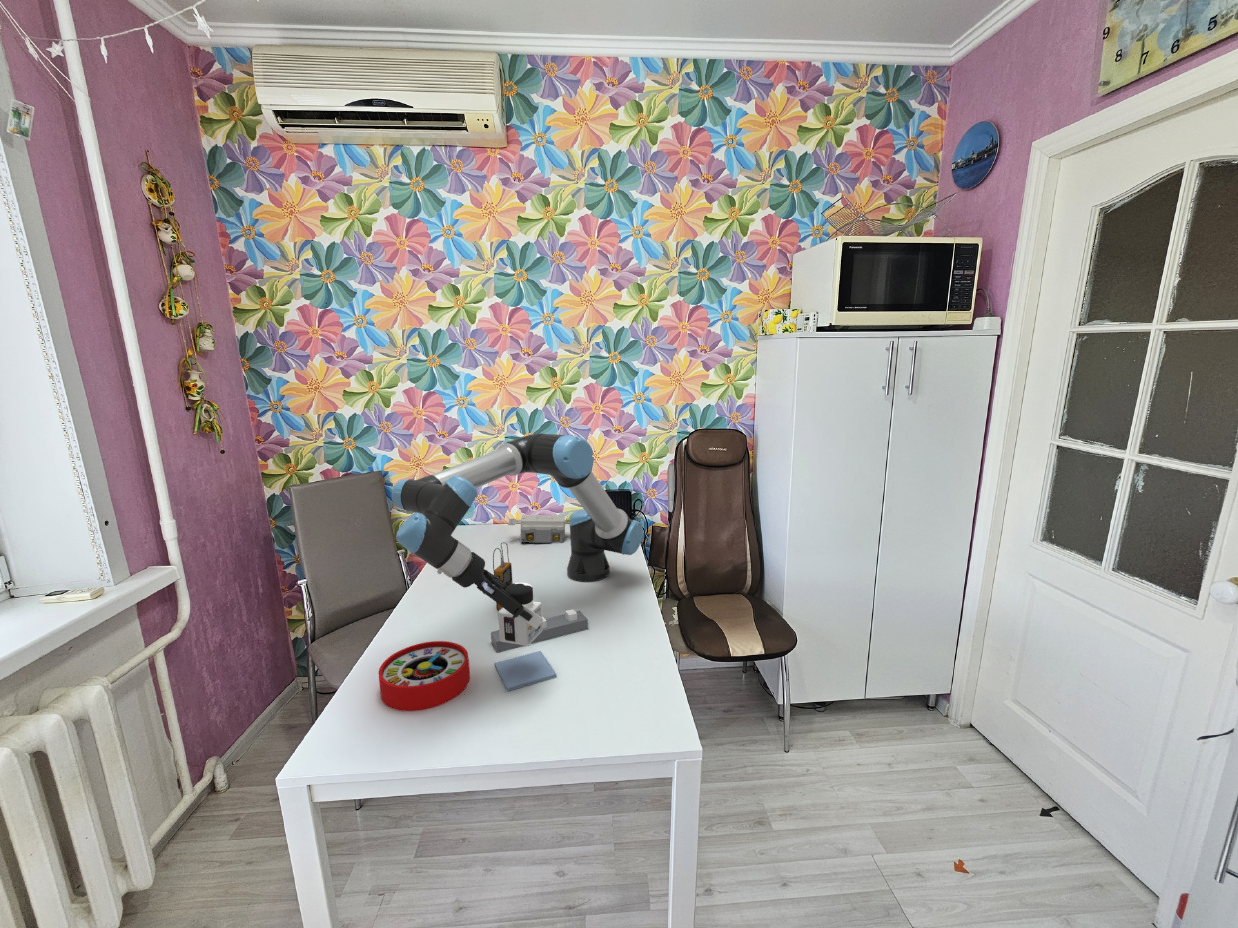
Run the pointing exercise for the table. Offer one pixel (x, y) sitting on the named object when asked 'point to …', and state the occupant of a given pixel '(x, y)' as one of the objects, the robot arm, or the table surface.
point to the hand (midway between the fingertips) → (532, 613)
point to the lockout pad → (524, 670)
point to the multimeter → (503, 572)
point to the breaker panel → (549, 629)
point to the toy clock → (424, 675)
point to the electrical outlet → (541, 528)
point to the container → (517, 628)
